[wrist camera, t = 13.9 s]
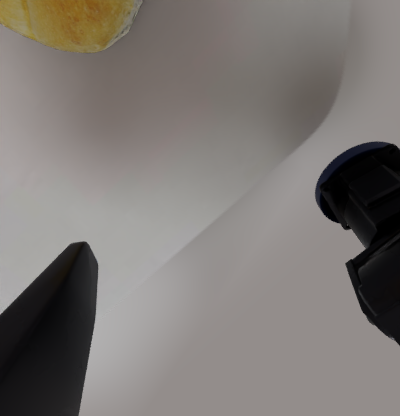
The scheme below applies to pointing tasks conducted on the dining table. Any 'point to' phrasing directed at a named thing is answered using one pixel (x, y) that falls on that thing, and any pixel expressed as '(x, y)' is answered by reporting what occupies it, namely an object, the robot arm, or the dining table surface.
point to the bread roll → (70, 22)
